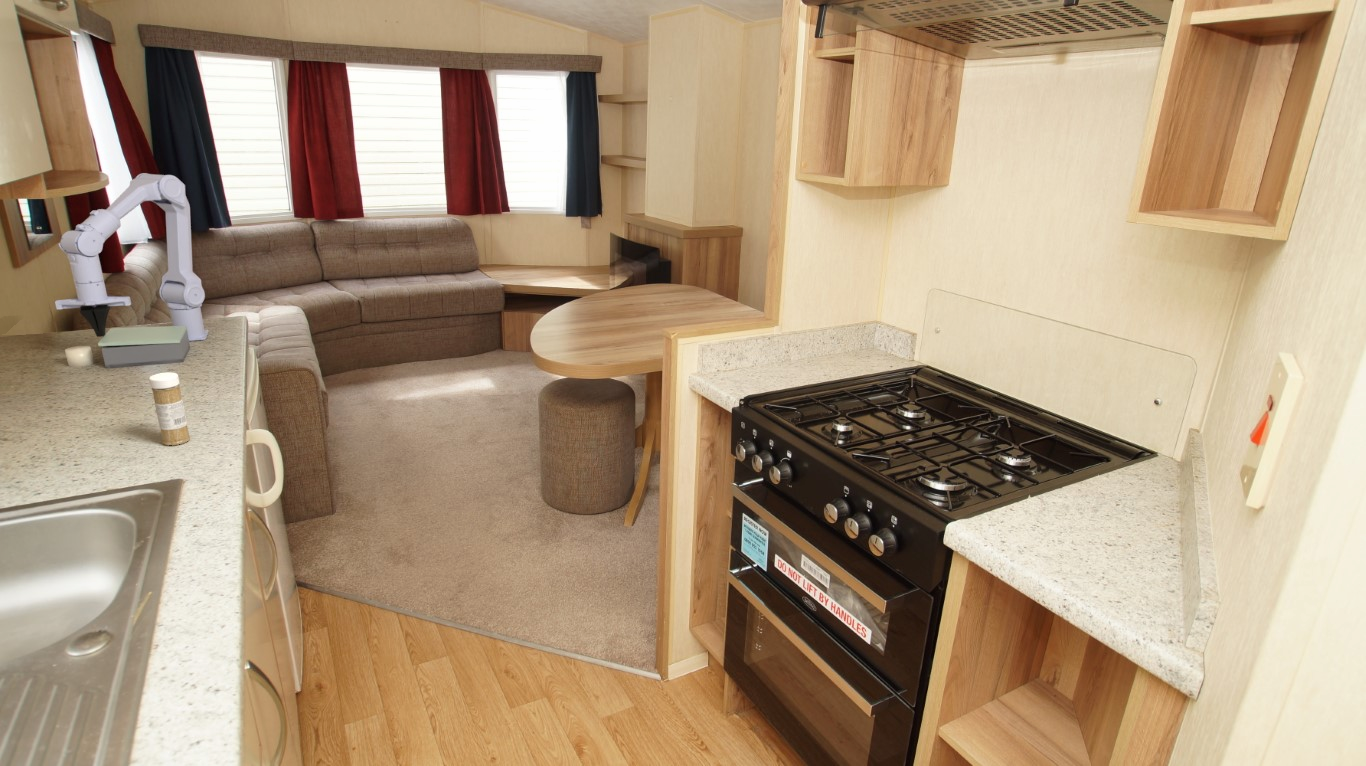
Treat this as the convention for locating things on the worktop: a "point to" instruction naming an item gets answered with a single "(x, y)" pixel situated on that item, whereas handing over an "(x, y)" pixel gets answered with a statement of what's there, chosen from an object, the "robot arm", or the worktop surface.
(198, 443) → the worktop surface
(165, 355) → the box
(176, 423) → the sprinkles bottle
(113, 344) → the lid
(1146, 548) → the worktop surface
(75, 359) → the cream rounded cup
